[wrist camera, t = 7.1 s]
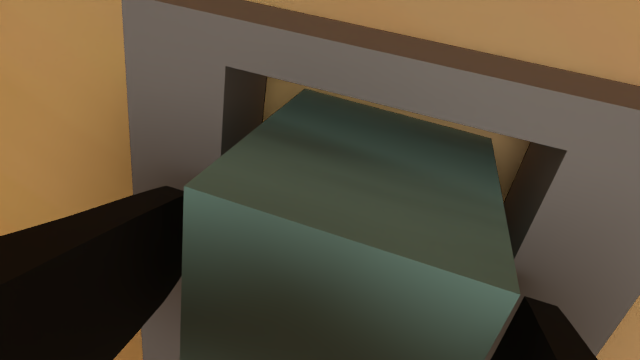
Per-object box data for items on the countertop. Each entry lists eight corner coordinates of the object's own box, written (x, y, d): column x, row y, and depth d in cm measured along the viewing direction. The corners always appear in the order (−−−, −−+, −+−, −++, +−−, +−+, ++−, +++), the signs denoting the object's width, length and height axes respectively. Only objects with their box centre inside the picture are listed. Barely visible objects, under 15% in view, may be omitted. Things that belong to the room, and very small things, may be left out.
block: (431, 284, 13) (413, 485, 8) (281, 234, 14) (178, 389, 9) (490, 138, 11) (519, 294, 6) (305, 88, 12) (184, 186, 6)
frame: (453, 483, 17) (452, 572, 14) (182, 377, 19) (140, 439, 17) (684, 96, 9) (767, 144, 7) (185, -13, 11) (107, -7, 9)
